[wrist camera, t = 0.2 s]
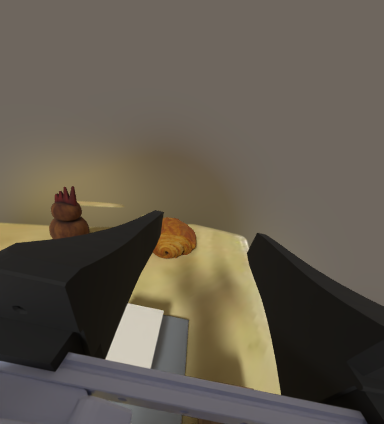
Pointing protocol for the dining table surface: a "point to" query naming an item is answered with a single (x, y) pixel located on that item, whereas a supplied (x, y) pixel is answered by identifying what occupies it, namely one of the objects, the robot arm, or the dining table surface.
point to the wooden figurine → (67, 216)
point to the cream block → (136, 336)
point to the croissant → (175, 239)
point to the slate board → (165, 367)
